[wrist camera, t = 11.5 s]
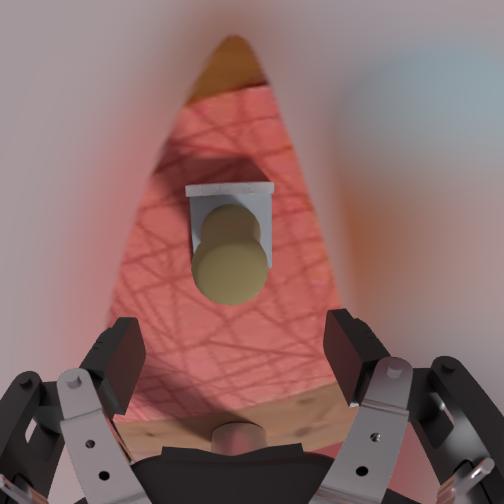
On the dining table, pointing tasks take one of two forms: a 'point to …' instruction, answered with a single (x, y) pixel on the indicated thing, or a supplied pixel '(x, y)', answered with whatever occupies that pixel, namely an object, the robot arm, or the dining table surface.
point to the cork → (230, 256)
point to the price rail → (229, 188)
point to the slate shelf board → (253, 202)
